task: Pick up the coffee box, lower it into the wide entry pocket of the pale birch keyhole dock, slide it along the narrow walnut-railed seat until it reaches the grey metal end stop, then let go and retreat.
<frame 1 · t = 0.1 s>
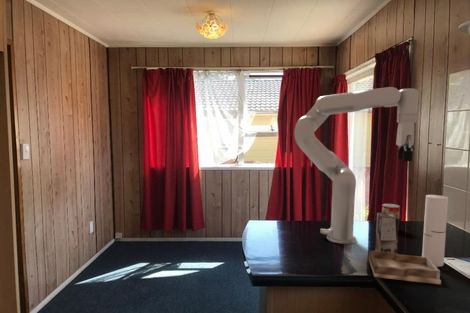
hand: (404, 160, 148), 37 cm above the kitchen counter, tool pointing down, fingers open, 9 cm apart
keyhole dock: (401, 271, 124), on the kitchen counter
canned food: (389, 229, 176), on the kitchen counter
coffee box: (385, 255, 139), on the kitchen counter
cylindrical container: (432, 263, 132), on the kitchen counter
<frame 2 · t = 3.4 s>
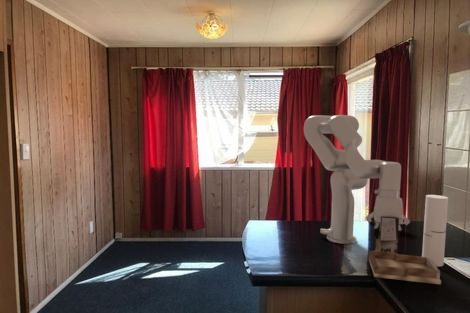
hand: (386, 238, 138), 7 cm above the kitchen counter, tool pointing down, fingers closed on coffee box, 6 cm apart
coffee box: (385, 255, 139), on the kitchen counter, touching gripper
everything else where it was.
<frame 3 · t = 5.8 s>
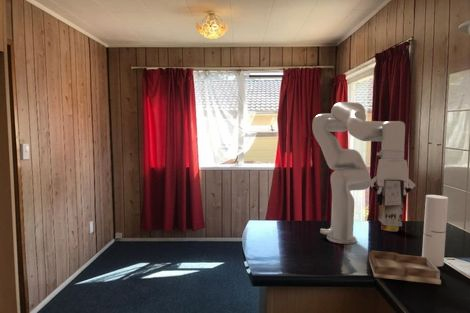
hand: (390, 204, 128), 22 cm above the kitchen counter, tool pointing down, fingers closed on coffee box, 6 cm apart
coffee box: (389, 223, 129), point 15 cm above the kitchen counter, touching gripper
everything else where it was.
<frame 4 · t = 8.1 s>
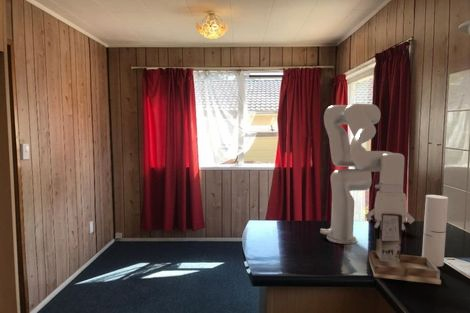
hand: (388, 238, 124), 11 cm above the kitchen counter, tool pointing down, fingers closed on coffee box, 6 cm apart
coffee box: (387, 258, 124), point 4 cm above the kitchen counter, touching gripper
everything else where it was.
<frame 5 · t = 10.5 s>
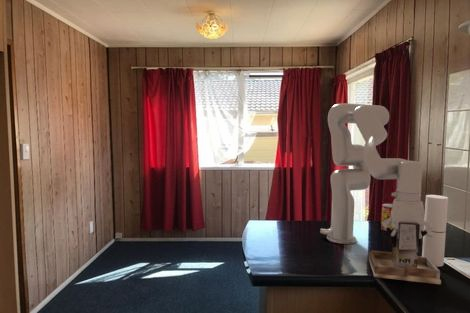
hand: (405, 247, 123), 9 cm above the kitchen counter, tool pointing down, fingers closed on coffee box, 6 cm apart
coffee box: (403, 266, 123), point 2 cm above the kitchen counter, touching gripper
everything else where it was.
when the fingers open (8 cm above the kitchen counter, at t = 12.8 s): coffee box stays where it is, resting on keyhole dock.
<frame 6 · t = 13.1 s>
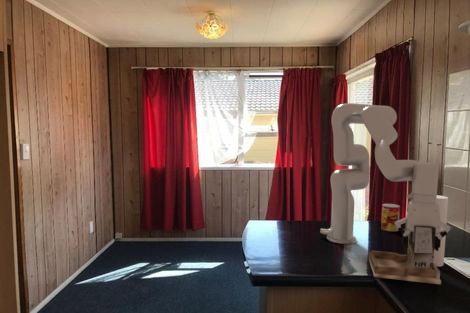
hand: (420, 248, 122), 9 cm above the kitchen counter, tool pointing down, fingers open, 9 cm apart
coffee box: (418, 269, 122), point 1 cm above the kitchen counter, touching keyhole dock
everything else where it was.
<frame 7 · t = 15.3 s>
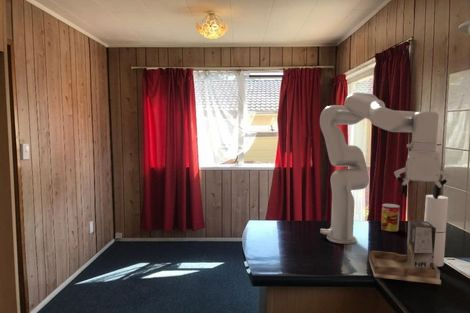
hand: (419, 197, 122), 26 cm above the kitchen counter, tool pointing down, fingers open, 9 cm apart
nothing on the kitchen counter moved.
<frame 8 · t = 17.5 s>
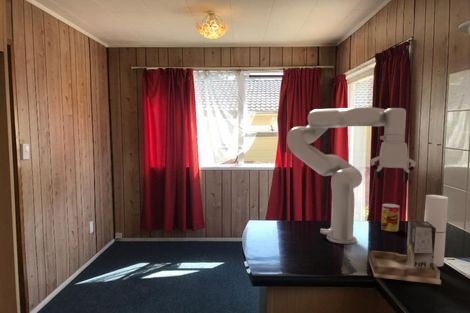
hand: (391, 181, 143), 28 cm above the kitchen counter, tool pointing down, fingers open, 9 cm apart
nothing on the kitchen counter moved.
at the end: coffee box 0.6 cm from the target spot on the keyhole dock, point 1.0 cm above the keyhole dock's base; coffee box tilted 0°; the gripper is holding nothing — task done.
